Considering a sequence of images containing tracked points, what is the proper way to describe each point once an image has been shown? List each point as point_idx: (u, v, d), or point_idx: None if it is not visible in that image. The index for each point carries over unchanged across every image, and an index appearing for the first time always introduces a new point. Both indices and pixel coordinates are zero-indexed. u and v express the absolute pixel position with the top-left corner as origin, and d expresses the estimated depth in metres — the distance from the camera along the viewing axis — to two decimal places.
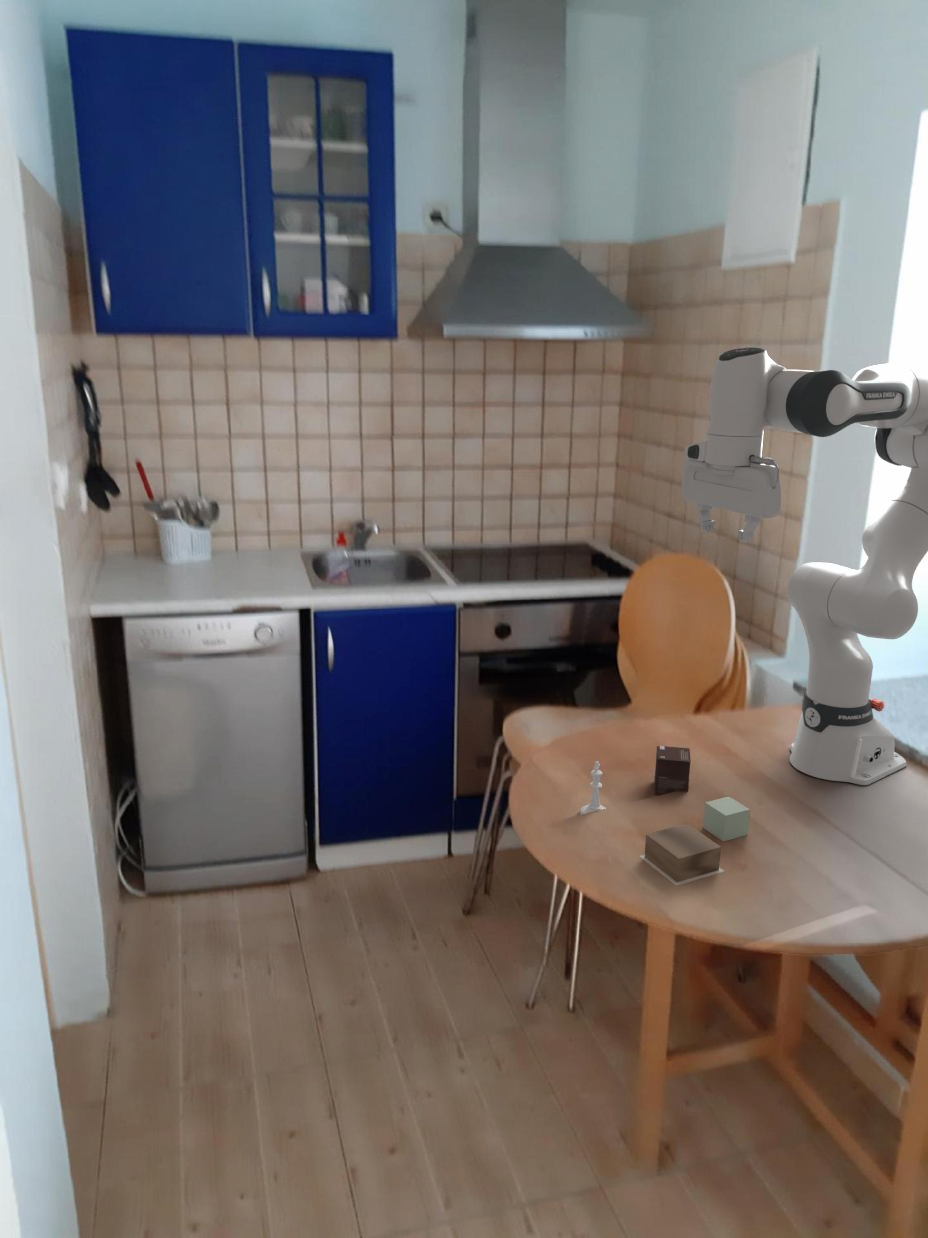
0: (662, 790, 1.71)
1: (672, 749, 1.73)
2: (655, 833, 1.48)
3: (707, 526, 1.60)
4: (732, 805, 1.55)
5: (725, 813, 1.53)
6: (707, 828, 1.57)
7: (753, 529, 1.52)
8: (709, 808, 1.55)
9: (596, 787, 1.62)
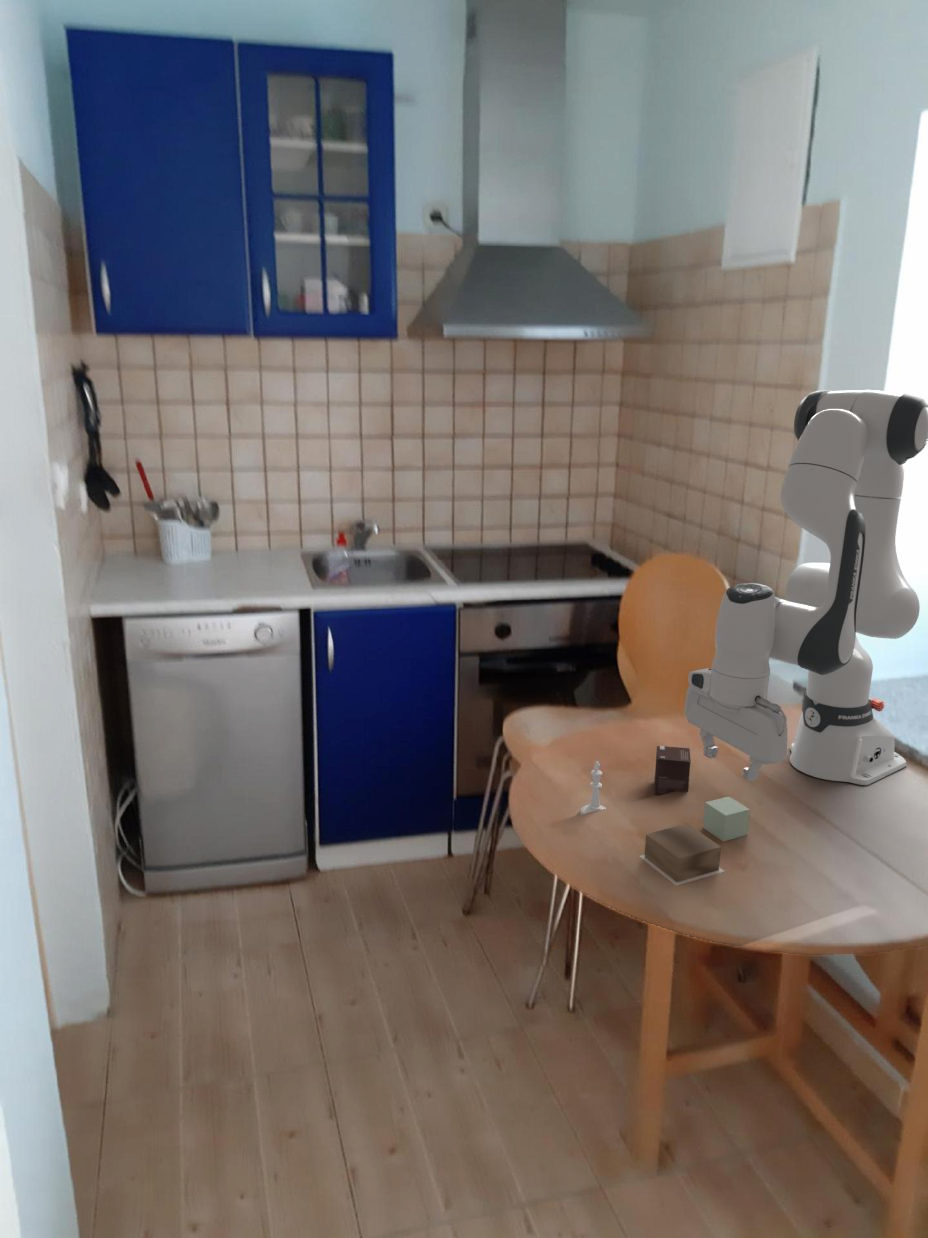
0: (662, 790, 1.71)
1: (672, 749, 1.73)
2: (655, 833, 1.48)
3: (710, 753, 1.56)
4: (732, 805, 1.55)
5: (725, 813, 1.53)
6: (707, 828, 1.57)
7: (758, 769, 1.48)
8: (709, 808, 1.55)
9: (596, 787, 1.62)
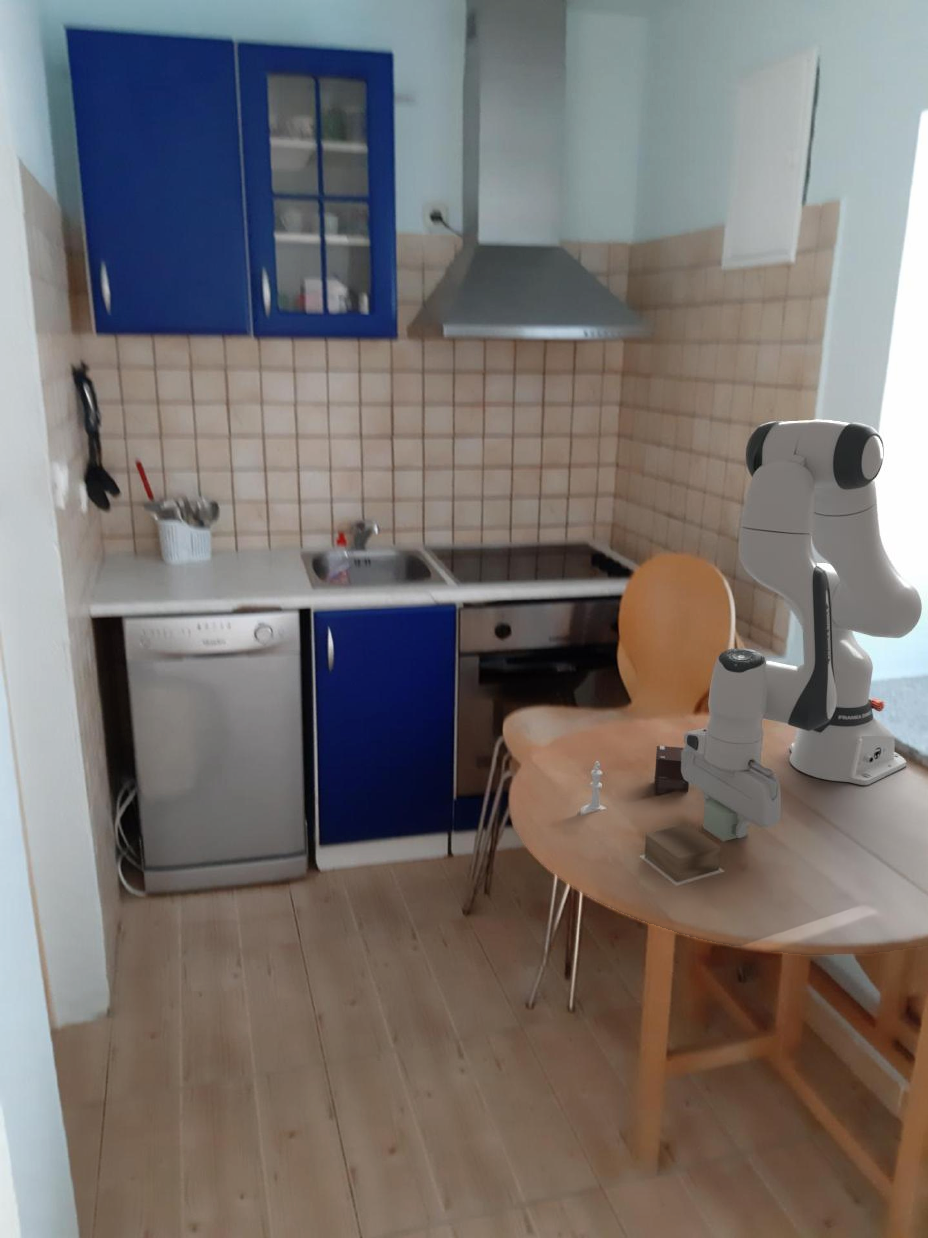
0: (662, 790, 1.71)
1: (672, 749, 1.73)
2: (655, 833, 1.48)
3: None
4: None
5: (725, 813, 1.53)
6: (707, 828, 1.57)
7: (746, 825, 1.52)
8: (709, 808, 1.55)
9: (596, 787, 1.62)
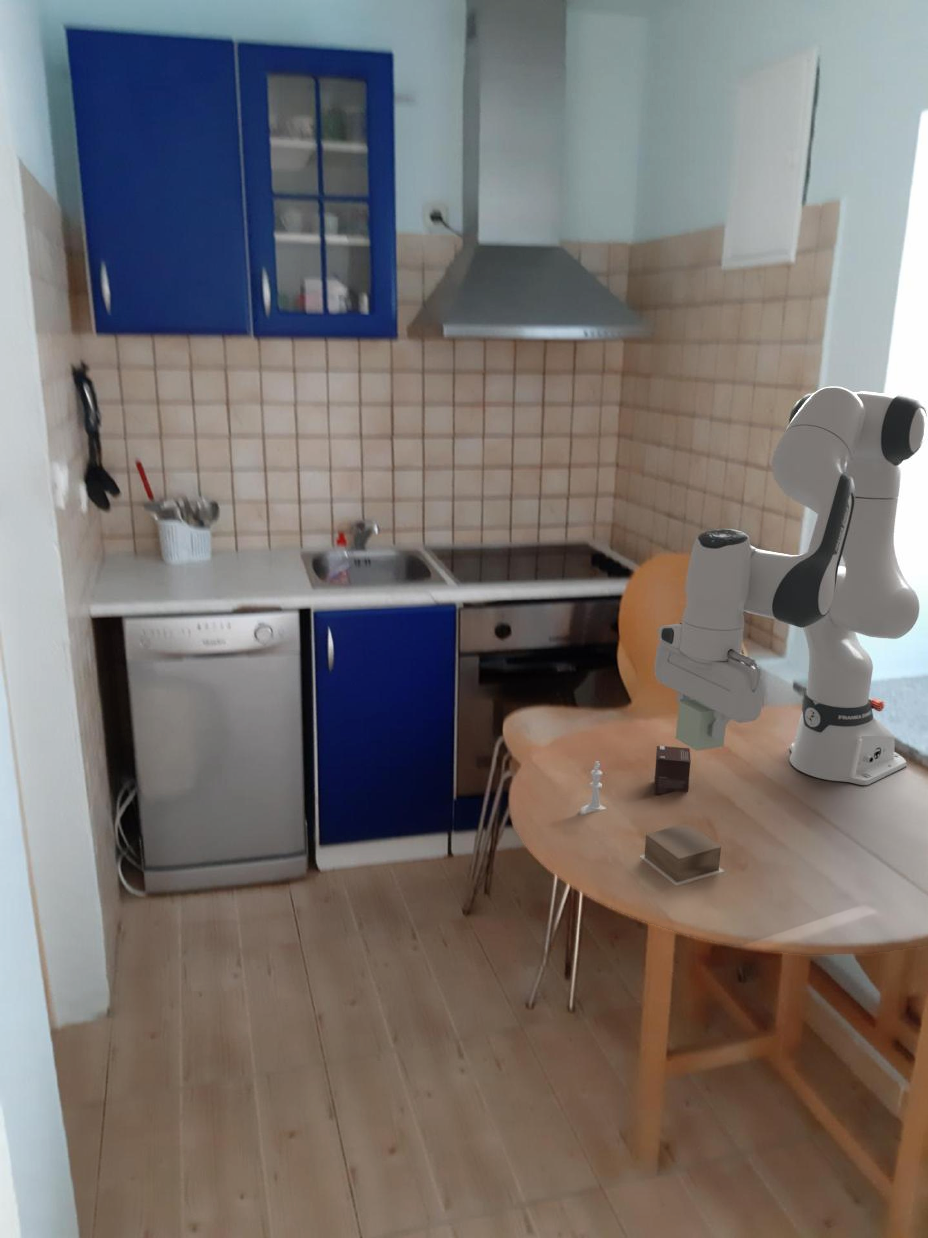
0: (662, 790, 1.71)
1: (672, 749, 1.73)
2: (655, 833, 1.48)
3: None
4: None
5: (701, 710, 1.39)
6: (681, 730, 1.43)
7: (723, 725, 1.38)
8: (683, 707, 1.42)
9: (596, 787, 1.62)
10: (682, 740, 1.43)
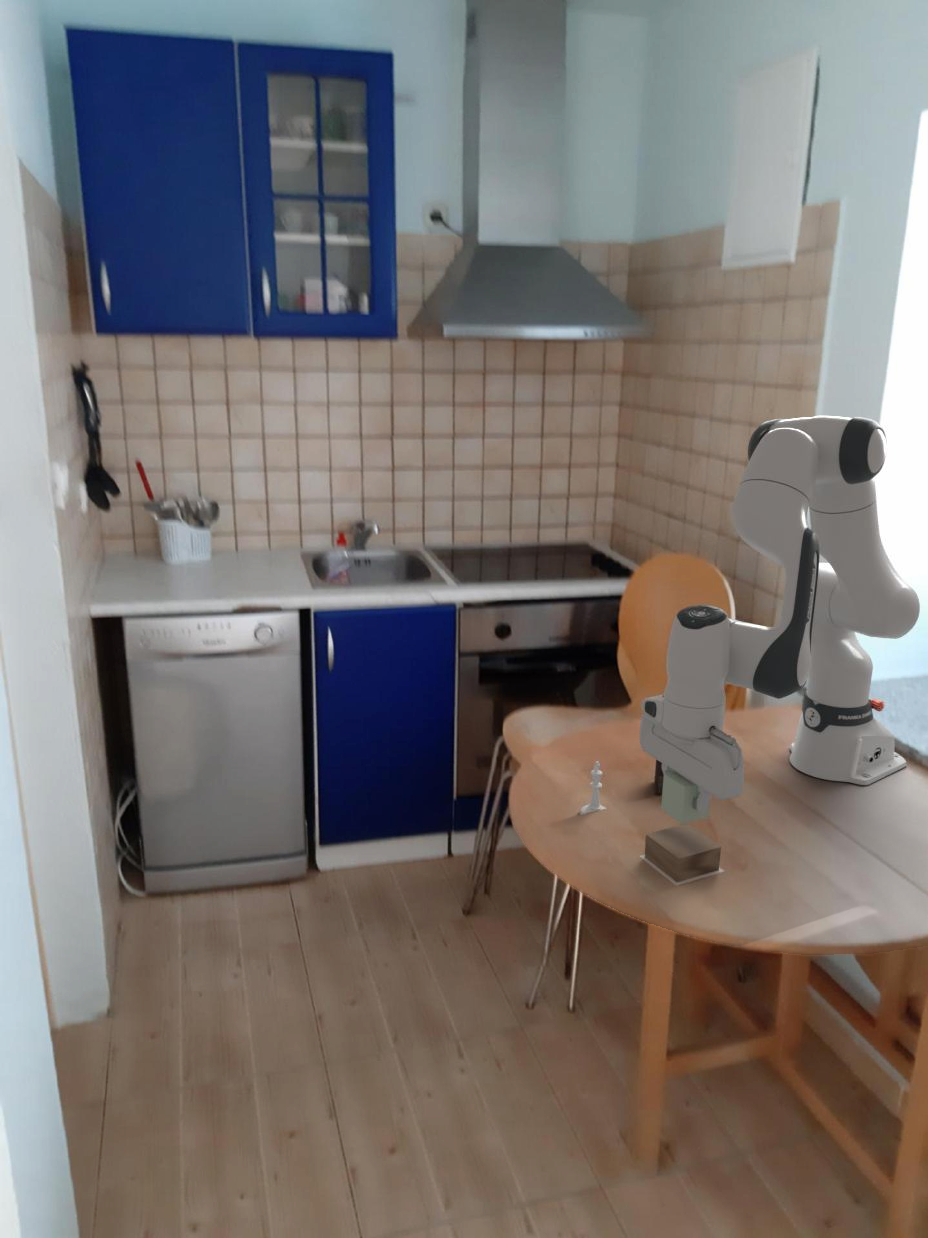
0: (662, 790, 1.71)
1: None
2: (655, 833, 1.48)
3: None
4: None
5: (684, 785, 1.40)
6: (666, 802, 1.44)
7: (707, 799, 1.39)
8: (668, 780, 1.43)
9: (596, 787, 1.62)
10: (667, 812, 1.44)
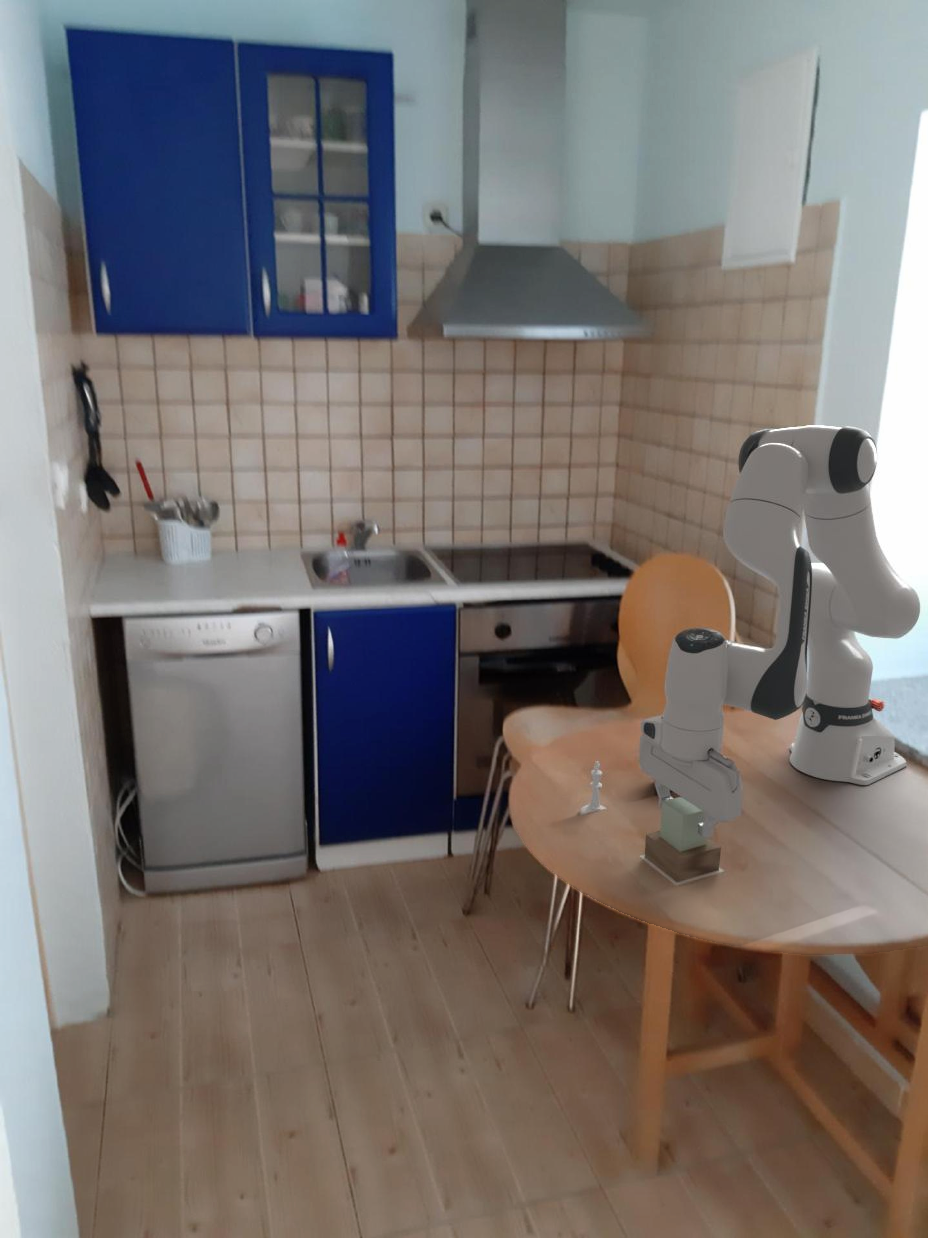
0: None
1: None
2: (655, 833, 1.48)
3: None
4: (691, 804, 1.44)
5: (683, 813, 1.41)
6: (664, 829, 1.45)
7: (713, 825, 1.39)
8: (666, 808, 1.44)
9: (596, 787, 1.62)
10: (666, 839, 1.45)
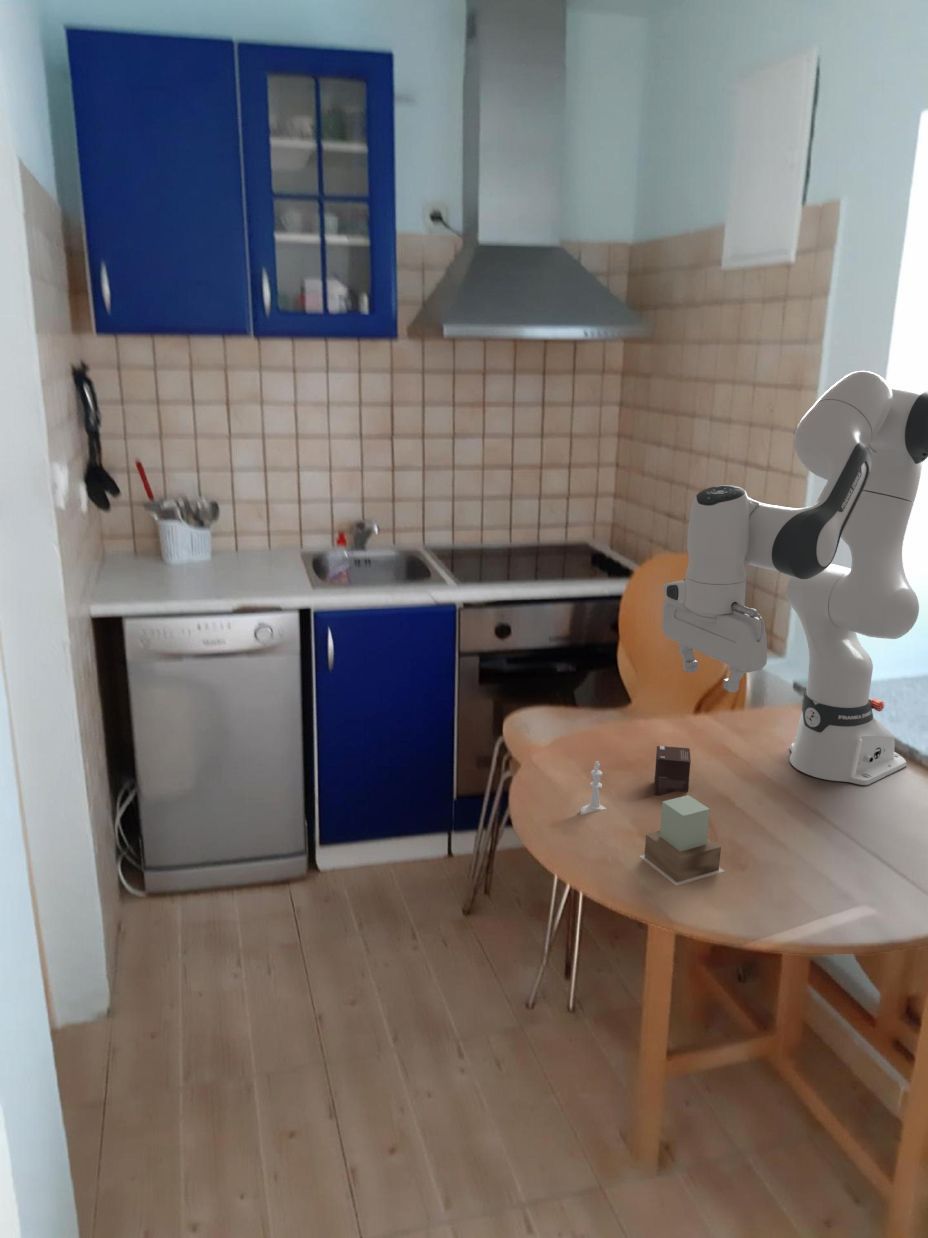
0: (662, 790, 1.71)
1: (672, 749, 1.73)
2: (655, 833, 1.48)
3: (690, 667, 1.50)
4: (691, 804, 1.44)
5: (683, 813, 1.41)
6: (664, 829, 1.45)
7: (738, 679, 1.42)
8: (666, 808, 1.44)
9: (596, 787, 1.62)
10: (666, 839, 1.45)
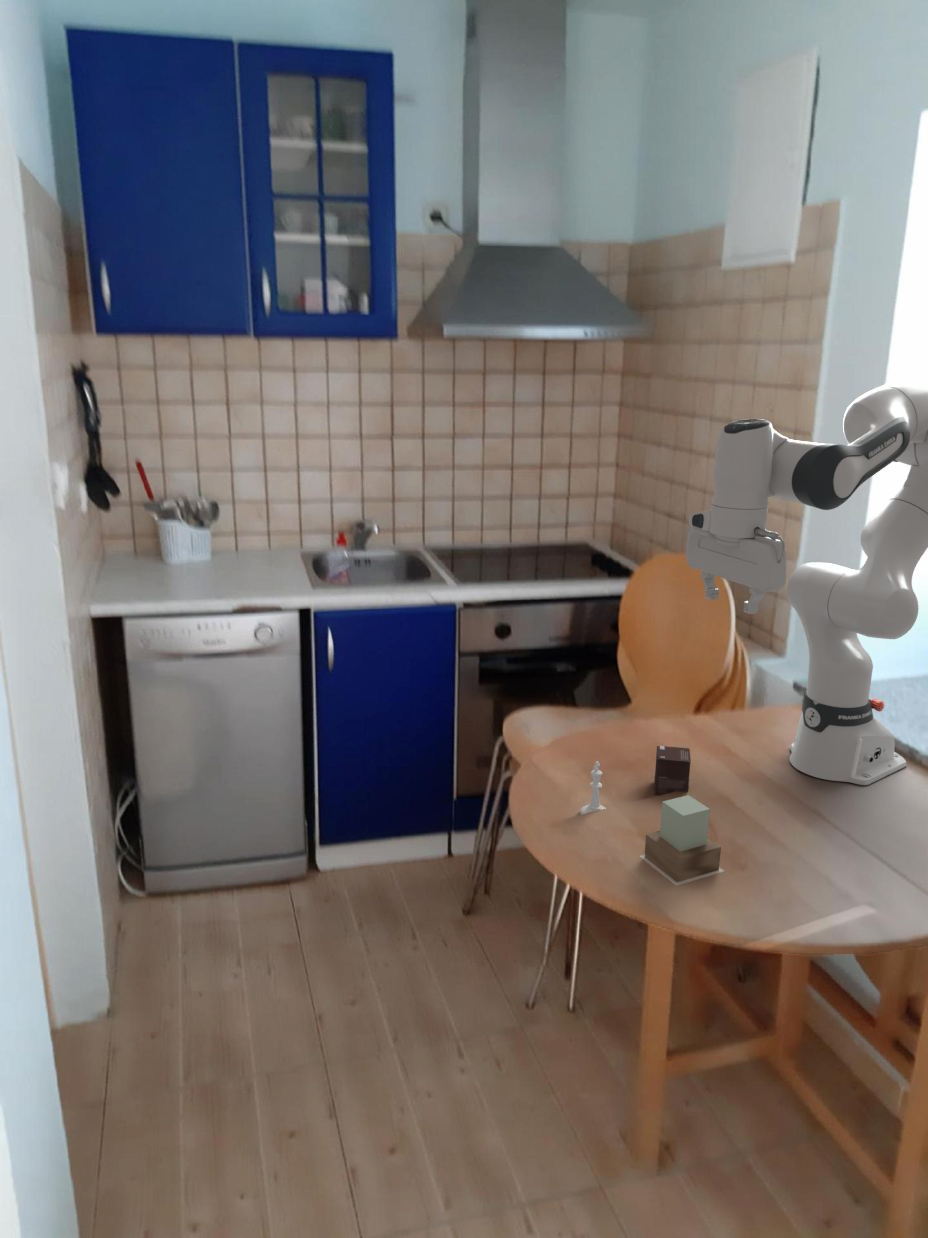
0: (662, 790, 1.71)
1: (672, 749, 1.73)
2: (655, 833, 1.48)
3: (711, 594, 1.59)
4: (691, 804, 1.44)
5: (683, 813, 1.41)
6: (664, 829, 1.45)
7: (758, 601, 1.51)
8: (666, 808, 1.44)
9: (596, 787, 1.62)
10: (666, 839, 1.45)
